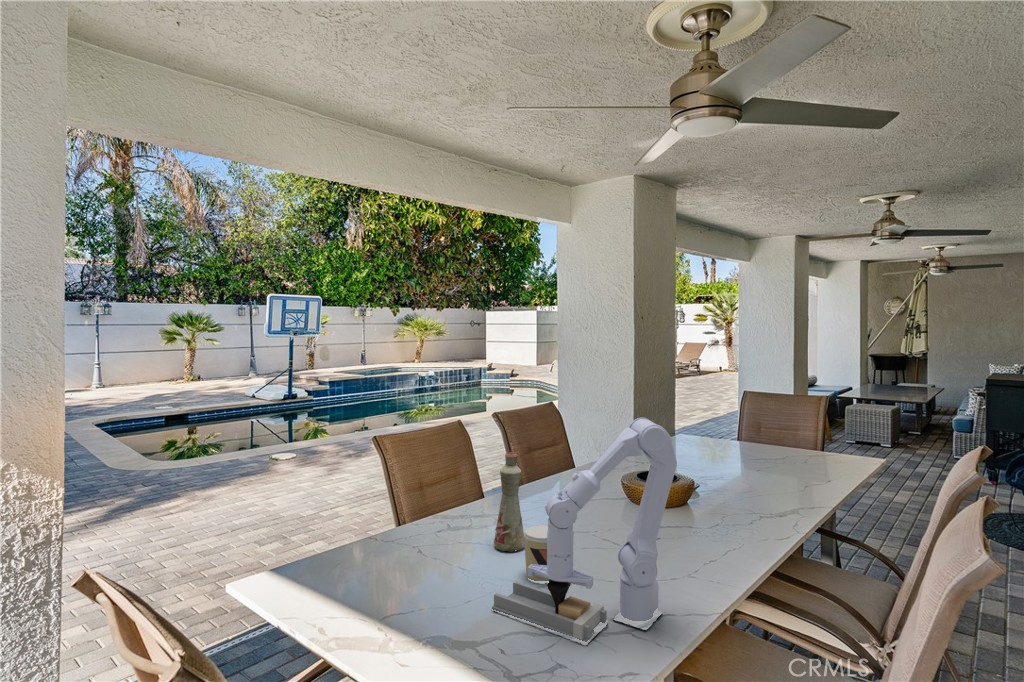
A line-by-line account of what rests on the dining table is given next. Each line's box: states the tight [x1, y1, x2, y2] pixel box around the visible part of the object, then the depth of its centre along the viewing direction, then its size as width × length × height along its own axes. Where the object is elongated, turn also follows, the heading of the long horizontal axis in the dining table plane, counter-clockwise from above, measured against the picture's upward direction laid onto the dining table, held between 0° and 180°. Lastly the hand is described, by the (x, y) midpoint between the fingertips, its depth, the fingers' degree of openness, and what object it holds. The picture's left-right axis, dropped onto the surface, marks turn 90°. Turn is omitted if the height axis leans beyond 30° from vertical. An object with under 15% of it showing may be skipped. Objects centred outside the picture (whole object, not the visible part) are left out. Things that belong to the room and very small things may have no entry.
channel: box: [491, 580, 608, 642], centre depth 127 cm, size 10×24×4 cm, turn 55°
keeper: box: [559, 595, 591, 620], centre depth 123 cm, size 5×5×4 cm
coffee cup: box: [523, 525, 549, 581], centre depth 147 cm, size 9×9×12 cm
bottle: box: [493, 451, 525, 552], centre depth 166 cm, size 9×9×28 cm
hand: (559, 613), depth 126 cm, fingers closed
